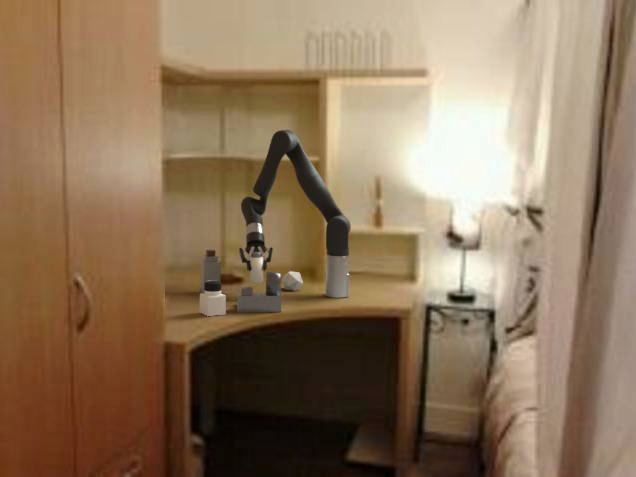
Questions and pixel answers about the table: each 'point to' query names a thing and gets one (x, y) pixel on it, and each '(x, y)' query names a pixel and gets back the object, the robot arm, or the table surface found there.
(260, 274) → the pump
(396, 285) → the table surface
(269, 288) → the block
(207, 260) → the perfume bottle
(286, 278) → the die
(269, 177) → the robot arm
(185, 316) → the table surface
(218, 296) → the medicine bottle
